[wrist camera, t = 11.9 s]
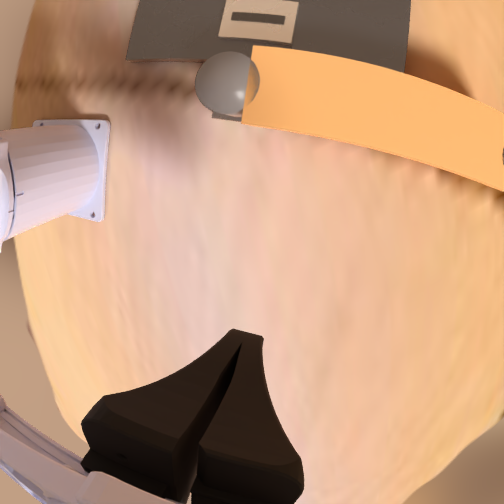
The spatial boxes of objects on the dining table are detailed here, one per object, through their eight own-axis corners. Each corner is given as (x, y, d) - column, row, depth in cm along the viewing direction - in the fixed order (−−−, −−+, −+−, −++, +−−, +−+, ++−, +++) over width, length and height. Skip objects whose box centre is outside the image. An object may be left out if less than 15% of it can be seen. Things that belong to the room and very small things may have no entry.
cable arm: (209, 121, 17) (189, 118, 14) (219, 57, 15) (201, 43, 13) (499, 190, 14) (525, 200, 11) (510, 130, 13) (536, 131, 10)
